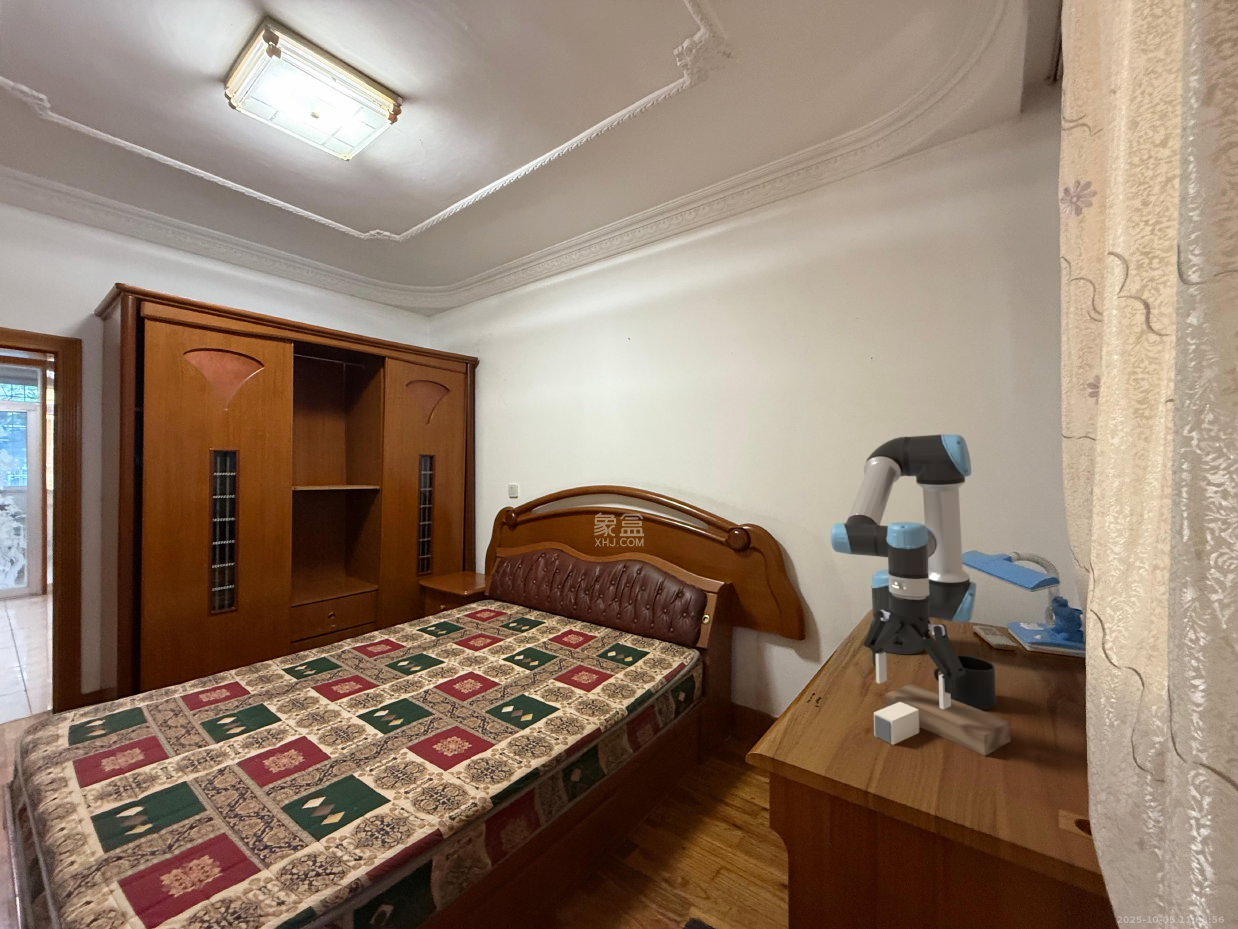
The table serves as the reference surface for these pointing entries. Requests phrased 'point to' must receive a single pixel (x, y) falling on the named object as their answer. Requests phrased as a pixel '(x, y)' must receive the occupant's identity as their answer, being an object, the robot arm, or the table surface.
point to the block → (896, 722)
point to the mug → (974, 683)
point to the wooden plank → (954, 720)
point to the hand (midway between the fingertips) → (911, 693)
